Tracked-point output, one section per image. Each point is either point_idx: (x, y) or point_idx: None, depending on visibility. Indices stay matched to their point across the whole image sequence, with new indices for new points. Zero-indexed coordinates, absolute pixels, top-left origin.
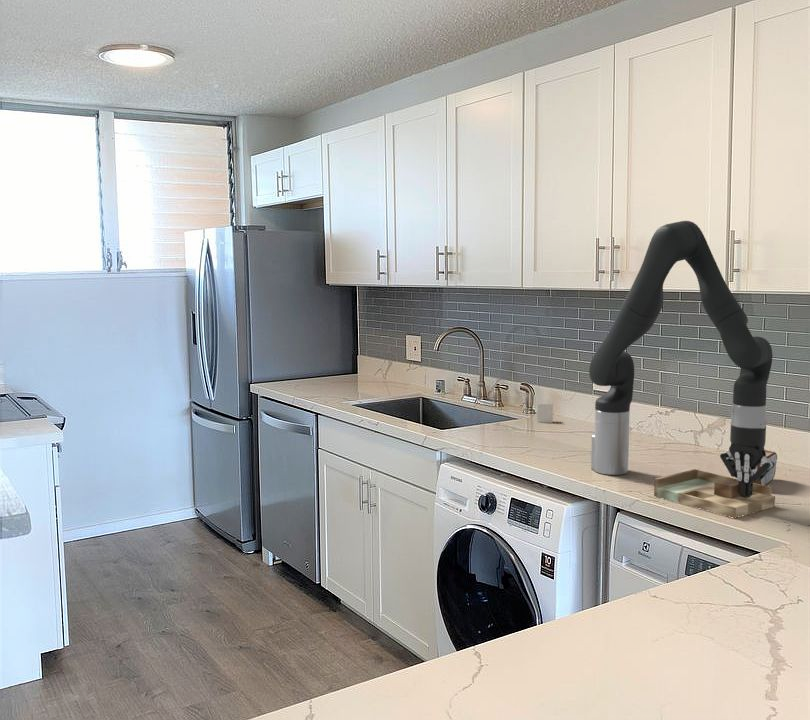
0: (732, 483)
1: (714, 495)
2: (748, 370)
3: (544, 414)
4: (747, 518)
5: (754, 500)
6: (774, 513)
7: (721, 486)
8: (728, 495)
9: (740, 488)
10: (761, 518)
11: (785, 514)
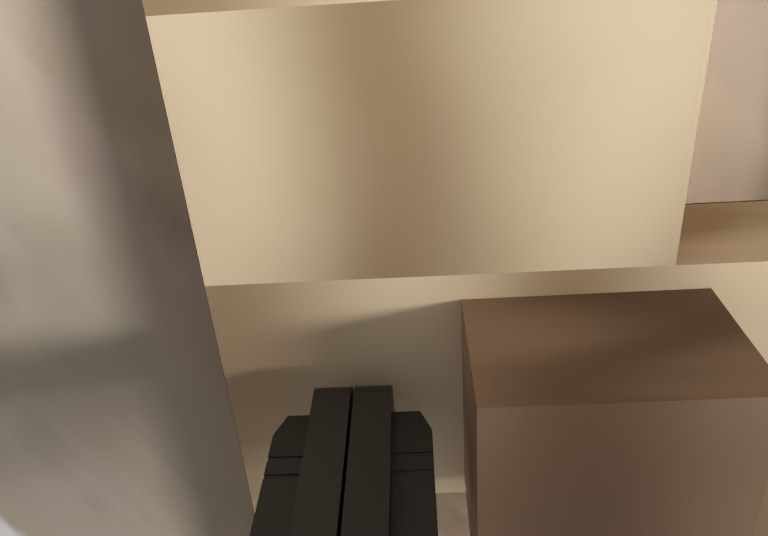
0: (561, 518)
1: (689, 263)
2: None
3: None
4: (137, 118)
5: None
6: (160, 437)
7: (647, 375)
8: (505, 317)
9: (379, 453)
10: (83, 236)
11: (103, 476)
